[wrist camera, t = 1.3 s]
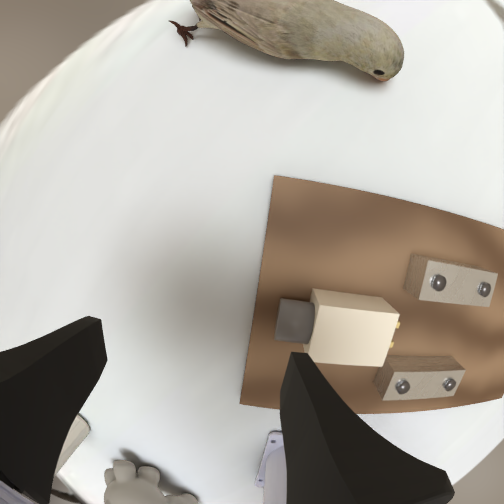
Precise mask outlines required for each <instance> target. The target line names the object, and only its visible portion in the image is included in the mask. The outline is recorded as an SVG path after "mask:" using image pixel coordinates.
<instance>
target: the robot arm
mask: <svg viewBox="0 0 504 504" xmlns="http://www.w3.org/2000/svg"><path fill="white" fill-rule="evenodd" d="M106 362H107V354H106V349H105V343H104V337H103V330H102V323H101V319H98V318H94V317H91V316H87V317H84V318H81V319H79V320H77V321H75V322H72V323H70V324H68V325H66V326H64V327H62V328H60V329H58V330H56V331H53V332H51V333H49V334H47V335H45V336H43V337H40V338H38V339H36V340H33V341H31V342H28V343H26V344H24V345H21V346H18V347H15V348H12V349H9V350H6V351H2V352H0V504H34V503H33V502H31V501H30V500H28V499H26V498H25V497H23V496H22V495H20V494H19V493H23V494H24V495H26V496H27V497H29V498H30V499H32V500H34V501H35V502H37V503H39V504H49V501H50V494H51V488H52V482H53V478H54V474H55V470H56V466H57V463H58V459H59V456H60V453H61V451H62V448H63V445H64V442H65V440H66V437H67V435H68V432H69V430H70V428H71V425H72V423H73V422H74V420H75V418H76V416H77V415H78V413H79V411H80V410H81V408H82V406H83V405H84V403H85V401H86V400H87V398H88V397H89V395H90V393H91V392H92V390H93V388H94V387H95V385H96V384H97V382H98V380H99V378H100V376H101V374H102V372H103V369H104V367H105V365H106ZM280 419H281V427H282V433H280V432H272V433H270V434H269V436H268V440H267V444H266V447H265V451H264V454H263V457H262V461H261V464H260V467H259V471H258V474H257V477H256V480H255V486H257V487H264V494H263V504H447V503H448V502H449V501H450V500H451V499H452V498H453V496H454V493H455V492H454V489H453V487H452V485H451V482H450V480H449V478H448V475H447V473H446V471H444V470H442V469H439V468H437V467H435V466H432V465H430V464H428V463H425V462H423V461H421V460H419V459H417V458H415V457H413V456H411V455H410V454H408V453H406V452H404V451H403V450H401V449H399V448H398V447H396V446H395V445H393V444H392V443H390V442H389V441H388V440H386V439H385V438H383V437H382V436H381V435H379V434H378V433H377V432H376V431H374V430H373V429H372V428H371V427H370V426H368V425H367V424H366V423H365V422H364V421H363V420H362V419H361V418H360V417H359V416H358V415H357V414H355V413H354V412H353V410H352V409H351V408H350V407H349V406H348V405H347V404H346V403H345V402H344V401H343V400H342V398H341V397H340V396H339V395H338V394H337V392H336V391H335V390H334V389H333V387H332V386H331V385H330V383H329V382H328V381H327V379H326V378H325V377H324V375H323V374H322V373H321V371H320V370H319V368H318V367H317V366H316V364H315V363H314V361H313V360H312V358H311V357H310V356H309V354H308V353H301V352H291V354H290V357H289V361H288V365H287V368H286V372H285V375H284V379H283V382H282V386H281V389H280ZM13 488H14V489H15V490H17V491H18V492H19V493H17V492H15V491H14V490H13Z"/></svg>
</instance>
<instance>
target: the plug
mask: <svg viewBox="0 0 504 504" xmlns="http://www.w3.org/2000/svg"><path fill="white" fill-rule="evenodd" d="M399 315H400V314H399V313H398V312H397V311H396V310H395V309H394V308H393V307H392V306H391V305H390V304H389V303H387V302H386V301H385V300H384V299H383V298H382V297H374V296H366V295H359V294H351V293H343V292H336V291H328V290H321V289H314V288H312V293H311V298H310V302H305V301H298V300H291V299H284V298H281V299H280V302H279V307H278V312H277V318H276V325H275V333H274V340H277V341H285V342H293V343H301V344H303V347H304V352H305V353H308V354H309V356H310V357H311V358H312V360H313V361H314V362H317V363H328V364H341V365H356V366H377V367H382V366H383V364H384V361H385V358H386V355H387V352H388V350H389V348H392V347H393V344H394V342H393V340H392V338H393V334H394V331H395V328H399V326H400V322H399V321H398V318H399Z"/></svg>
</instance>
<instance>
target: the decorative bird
mask: <svg viewBox="0 0 504 504" xmlns="http://www.w3.org/2000/svg"><path fill="white" fill-rule="evenodd" d="M190 2H191V3H192V7H193V8H194V9H195V12H196V13H197V15H198V16H199V18H200V20H202V21H200V20H199V21H200V22H198V23H197V24H196V25H195V26H190V27H185V26H180V25H179V24H178V23H176V22H174V21H169V22H171V23H173V24H174V25H175V26H176V27H177V32H178V34H179V35H181V36H182V37H183V39H184V41H185V47H186V46H187V36H189V37H190V38H192V40H193V36H192V34H190V33H189V32H188V31H194V30H196V29H198V28H214V29H220V30H222V31H224V32H225V33H227V34H228V35H229V36H231V37H233V38H235V39H236V40H238V41H240V42H241V43H243V44H246V45H248V46H250V47H252V48H254V49H257V50H259V51H261V52H264V53H266V54H269V55H272V56H275V57H279V58H285V59H317V60H323V61H338V60H341V61H344V62H346V63H349V64H351V65H353V66H355V67H356V68H358V69H360V70H362V71H363V72H366V73H368V74H371V75H372V76H374V77H375V78H376V79H378V80H380V81H388V80H389V79H390V78H392V77H394V76H395V75H396V74H398V72H399V71H400V70H401V68H402V64H403V60H404V50H403V46H402V44H401V41H400V39H399V37H398V36H397V34H396V33H395V32H394V31H393V30H392V29H391V28H390V27H389V26H388V25H387V24H386V23H384V22H383V21H381V20H379V19H378V18H376V17H374V16H372V15H369V14H367V13H365V12H363V11H360V10H357V9H355V8H352V7H349V6H346V5H344V4H341V3H339V2H336V1H334V0H190ZM186 35H187V36H186Z"/></svg>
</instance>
